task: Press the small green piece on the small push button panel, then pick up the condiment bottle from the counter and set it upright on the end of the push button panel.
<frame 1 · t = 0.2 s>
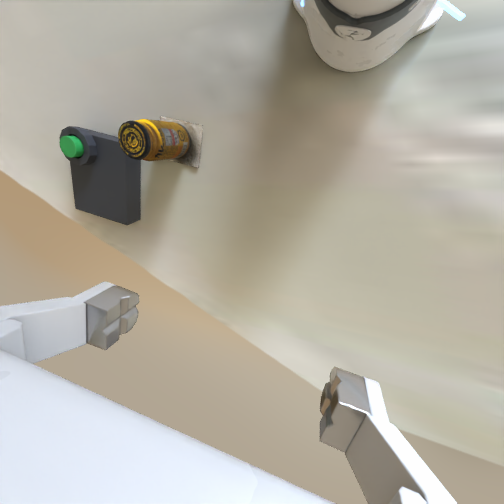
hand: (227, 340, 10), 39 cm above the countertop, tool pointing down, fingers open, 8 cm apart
small green piece: (72, 146, 47), point 6 cm above the countertop, slide at 0.1 cm
push button panel: (113, 176, 55), on the countertop
condiment: (181, 142, 48), on the countertop
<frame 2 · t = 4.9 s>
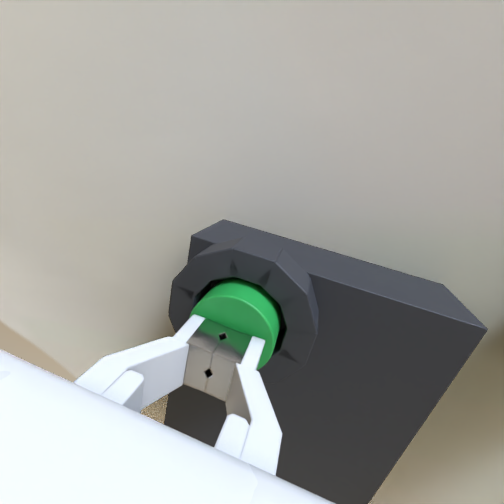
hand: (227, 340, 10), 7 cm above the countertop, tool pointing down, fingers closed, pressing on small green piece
small green piece: (235, 324, 11), point 6 cm above the countertop, slide at -0.3 cm, touching gripper
push button panel: (288, 353, 18), on the countertop
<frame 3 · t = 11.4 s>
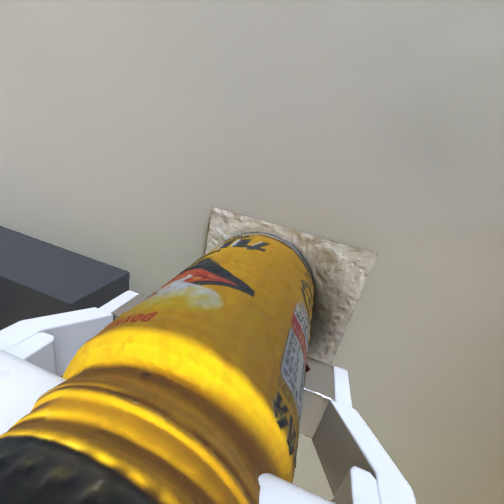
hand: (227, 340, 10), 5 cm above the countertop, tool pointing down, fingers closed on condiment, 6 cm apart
push button panel: (56, 334, 21), on the countertop
condiment: (273, 288, 14), on the countertop, touching gripper
when the fingers open (9 cm above the countertop, at t = 19.4 s): condiment stays where it is, resting on push button panel.
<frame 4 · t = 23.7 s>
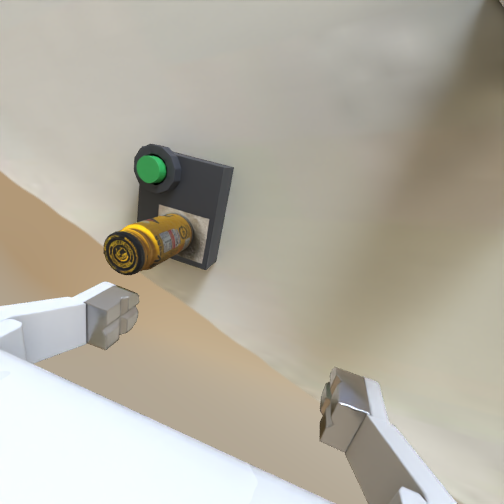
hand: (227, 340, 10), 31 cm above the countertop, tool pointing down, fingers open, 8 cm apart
small green piece: (151, 169, 36), point 6 cm above the countertop, slide at 0.1 cm
push button panel: (188, 207, 43), on the countertop
condiment: (182, 233, 40), point 4 cm above the countertop, touching push button panel
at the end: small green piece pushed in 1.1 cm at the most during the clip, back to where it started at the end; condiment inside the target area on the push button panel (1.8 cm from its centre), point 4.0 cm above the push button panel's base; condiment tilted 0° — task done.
